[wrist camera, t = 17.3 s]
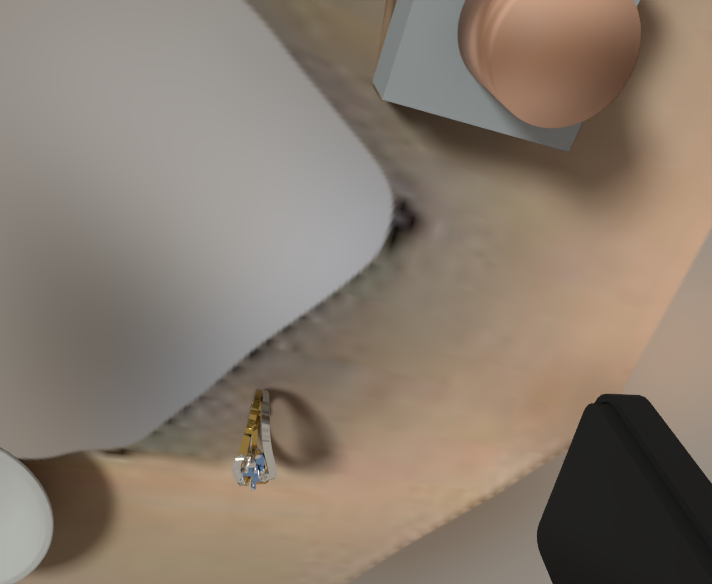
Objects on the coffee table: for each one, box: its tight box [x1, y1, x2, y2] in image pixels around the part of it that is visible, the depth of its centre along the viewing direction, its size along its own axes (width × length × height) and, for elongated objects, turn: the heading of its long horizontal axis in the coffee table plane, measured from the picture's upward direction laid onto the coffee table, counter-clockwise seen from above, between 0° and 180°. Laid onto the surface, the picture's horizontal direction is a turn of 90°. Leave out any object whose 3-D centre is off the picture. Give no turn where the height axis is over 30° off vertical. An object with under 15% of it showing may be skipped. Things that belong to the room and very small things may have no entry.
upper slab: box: [372, 0, 640, 152], centre depth 34 cm, size 11×11×4 cm
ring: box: [232, 389, 277, 491], centre depth 49 cm, size 7×3×8 cm, turn 164°
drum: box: [457, 0, 641, 128], centre depth 30 cm, size 6×6×6 cm
